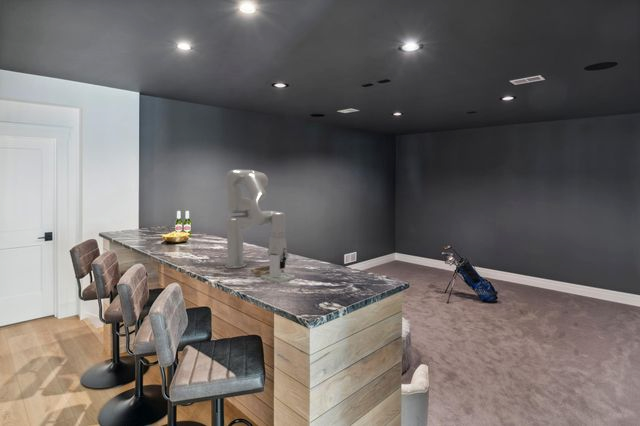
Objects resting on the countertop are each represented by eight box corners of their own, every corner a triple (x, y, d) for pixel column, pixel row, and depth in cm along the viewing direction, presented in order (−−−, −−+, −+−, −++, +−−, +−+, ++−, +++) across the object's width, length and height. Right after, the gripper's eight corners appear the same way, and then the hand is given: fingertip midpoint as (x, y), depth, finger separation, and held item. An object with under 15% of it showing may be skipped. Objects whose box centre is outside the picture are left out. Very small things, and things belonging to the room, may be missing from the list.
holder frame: (251, 273, 215) (251, 269, 215) (270, 268, 226) (270, 265, 226) (264, 276, 207) (264, 272, 207) (283, 271, 219) (283, 268, 218)
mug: (273, 278, 198) (273, 255, 197) (266, 274, 203) (267, 253, 202) (289, 275, 204) (289, 253, 203) (282, 272, 210) (283, 251, 208)
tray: (261, 278, 204) (261, 275, 204) (277, 274, 213) (277, 271, 213) (279, 283, 195) (279, 280, 195) (294, 278, 204) (294, 275, 204)
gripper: (262, 233, 204) (262, 265, 206) (284, 237, 193) (284, 271, 195) (272, 232, 210) (272, 263, 212) (294, 235, 199) (294, 268, 201)
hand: (277, 266), depth 203 cm, fingers closed on mug, 6 cm apart
